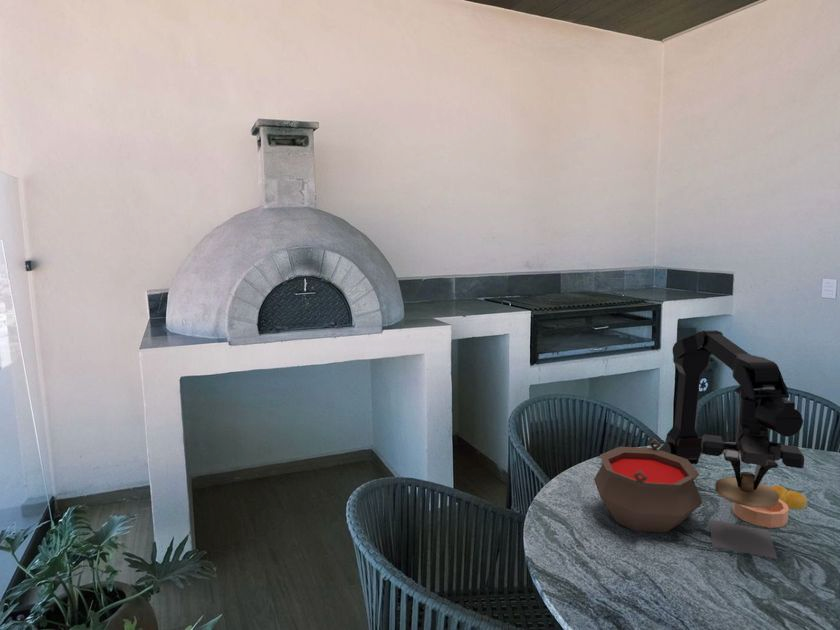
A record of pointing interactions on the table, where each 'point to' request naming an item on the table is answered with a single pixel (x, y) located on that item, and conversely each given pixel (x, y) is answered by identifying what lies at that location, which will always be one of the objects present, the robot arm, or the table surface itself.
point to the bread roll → (791, 498)
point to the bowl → (763, 514)
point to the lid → (747, 491)
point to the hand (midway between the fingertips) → (746, 487)
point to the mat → (742, 539)
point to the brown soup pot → (647, 487)
